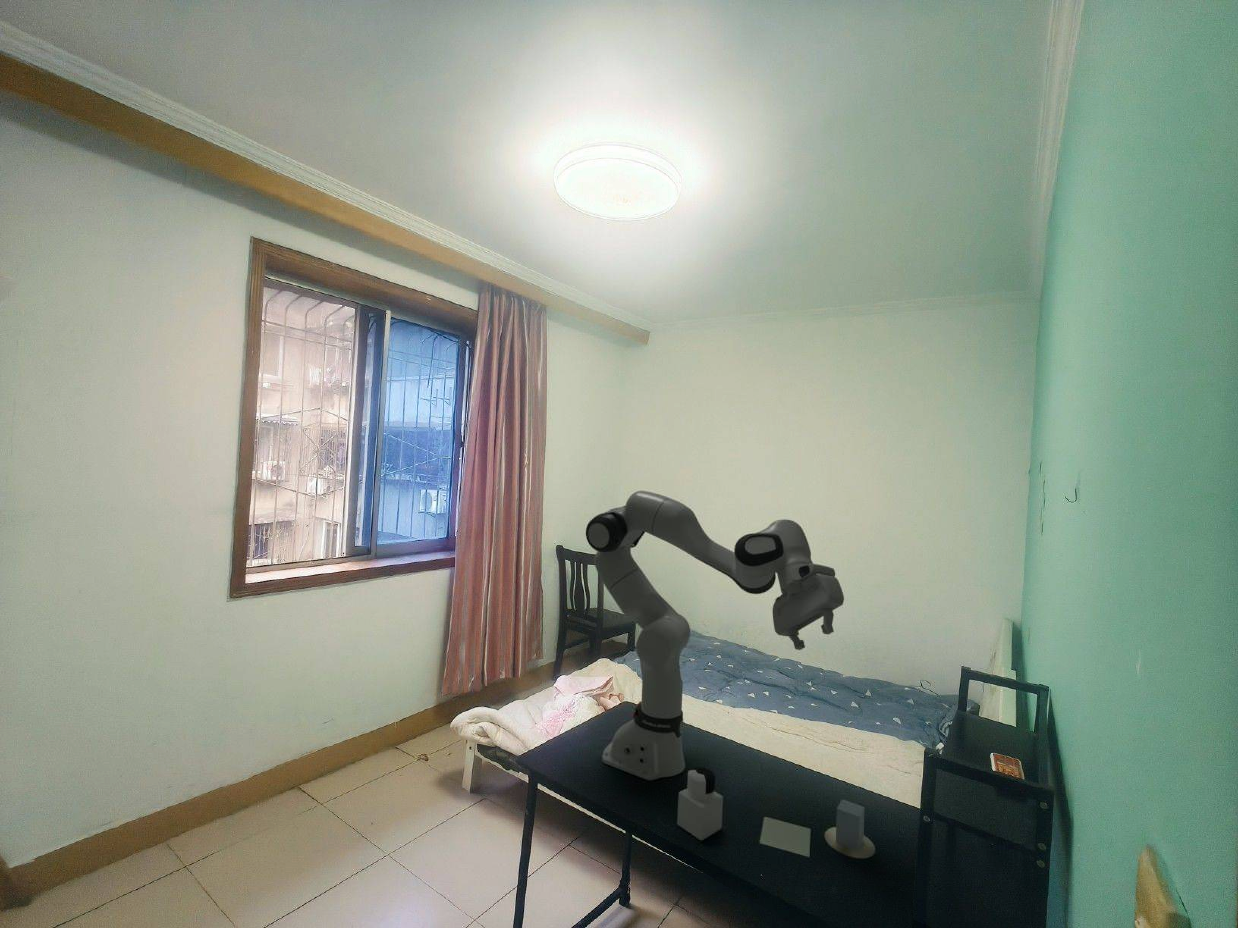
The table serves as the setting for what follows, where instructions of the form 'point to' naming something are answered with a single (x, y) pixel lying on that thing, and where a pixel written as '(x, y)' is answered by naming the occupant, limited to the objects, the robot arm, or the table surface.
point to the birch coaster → (864, 852)
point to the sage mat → (786, 836)
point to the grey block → (850, 825)
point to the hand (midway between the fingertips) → (814, 641)
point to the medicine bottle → (700, 804)
